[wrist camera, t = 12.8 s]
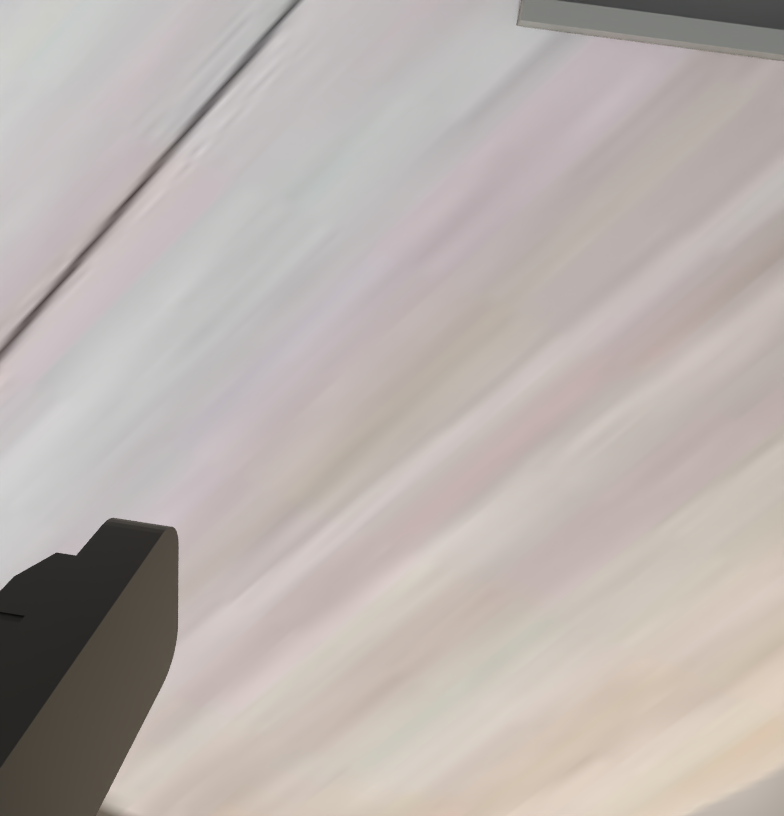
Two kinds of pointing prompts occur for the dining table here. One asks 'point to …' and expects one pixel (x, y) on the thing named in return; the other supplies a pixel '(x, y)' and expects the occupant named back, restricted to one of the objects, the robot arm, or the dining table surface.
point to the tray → (669, 23)
